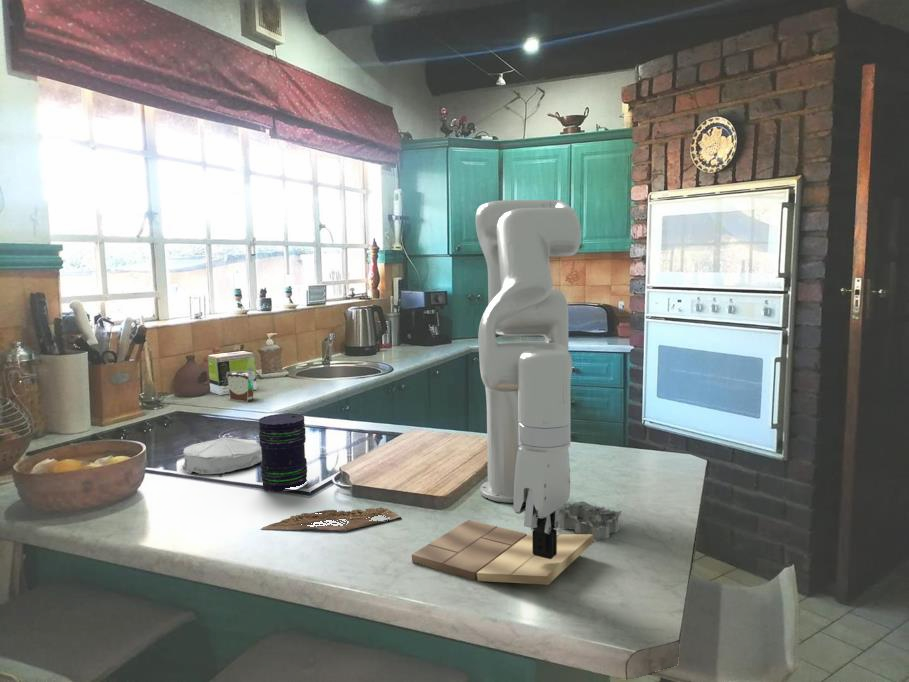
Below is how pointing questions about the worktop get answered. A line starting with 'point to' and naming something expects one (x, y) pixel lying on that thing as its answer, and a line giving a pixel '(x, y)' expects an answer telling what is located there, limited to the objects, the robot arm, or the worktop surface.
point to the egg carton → (589, 519)
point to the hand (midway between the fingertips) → (544, 554)
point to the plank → (534, 561)
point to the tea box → (228, 369)
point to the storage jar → (282, 451)
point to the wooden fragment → (354, 517)
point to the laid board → (467, 548)
